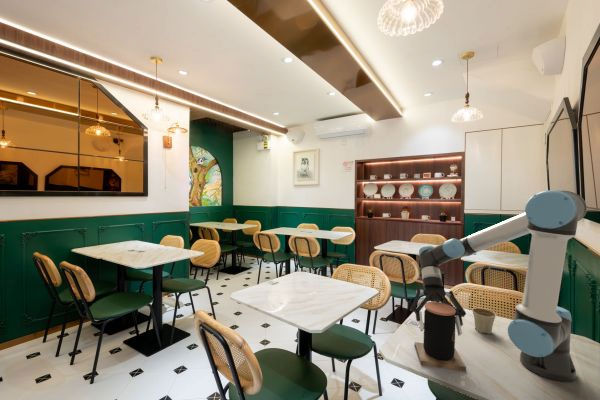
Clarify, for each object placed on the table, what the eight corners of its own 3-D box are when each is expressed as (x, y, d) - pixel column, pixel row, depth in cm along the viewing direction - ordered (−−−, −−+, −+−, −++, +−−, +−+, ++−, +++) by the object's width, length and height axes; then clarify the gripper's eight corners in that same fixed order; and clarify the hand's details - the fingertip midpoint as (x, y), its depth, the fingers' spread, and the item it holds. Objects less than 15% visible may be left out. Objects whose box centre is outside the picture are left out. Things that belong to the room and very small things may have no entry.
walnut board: (454, 350, 110) (454, 347, 110) (466, 371, 97) (466, 367, 97) (414, 345, 113) (414, 341, 113) (420, 364, 101) (420, 360, 100)
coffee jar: (458, 363, 99) (460, 314, 98) (427, 359, 101) (428, 311, 101) (448, 347, 109) (450, 303, 109) (420, 344, 112) (421, 300, 111)
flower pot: (495, 329, 128) (495, 311, 128) (496, 338, 120) (497, 318, 120) (471, 323, 133) (472, 306, 133) (471, 332, 125) (471, 313, 125)
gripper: (461, 286, 117) (474, 339, 102) (400, 281, 122) (404, 331, 108) (466, 277, 111) (480, 333, 97) (402, 273, 117) (407, 324, 103)
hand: (440, 332), depth 102 cm, fingers open, 12 cm apart
